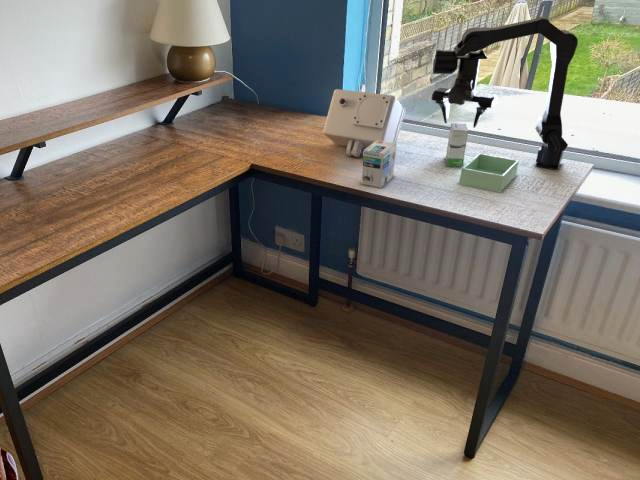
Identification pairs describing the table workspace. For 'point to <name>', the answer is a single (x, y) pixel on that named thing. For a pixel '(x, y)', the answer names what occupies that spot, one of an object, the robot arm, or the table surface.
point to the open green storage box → (489, 172)
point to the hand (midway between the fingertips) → (459, 125)
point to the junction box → (363, 119)
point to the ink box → (456, 144)
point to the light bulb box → (378, 163)
